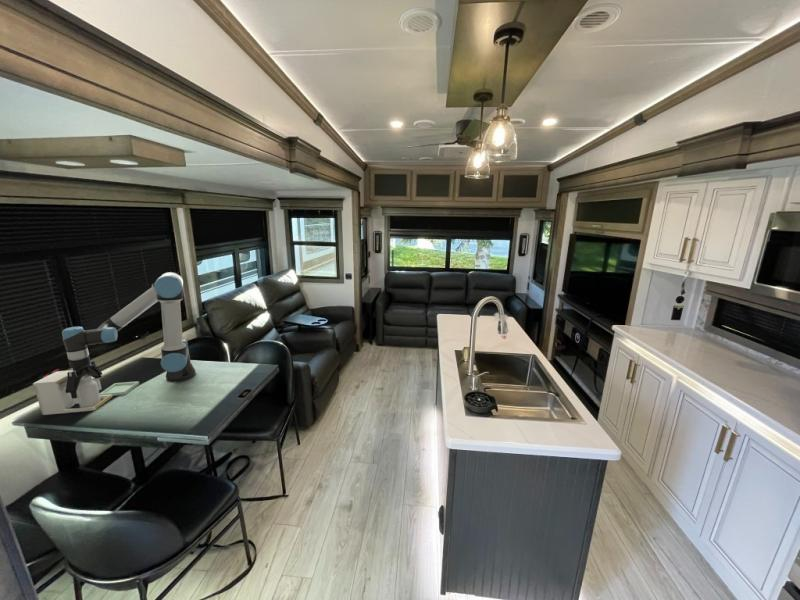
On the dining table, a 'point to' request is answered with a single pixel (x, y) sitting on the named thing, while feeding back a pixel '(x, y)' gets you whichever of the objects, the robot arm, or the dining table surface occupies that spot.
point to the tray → (120, 388)
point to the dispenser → (59, 395)
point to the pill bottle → (88, 392)
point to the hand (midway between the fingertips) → (88, 396)
